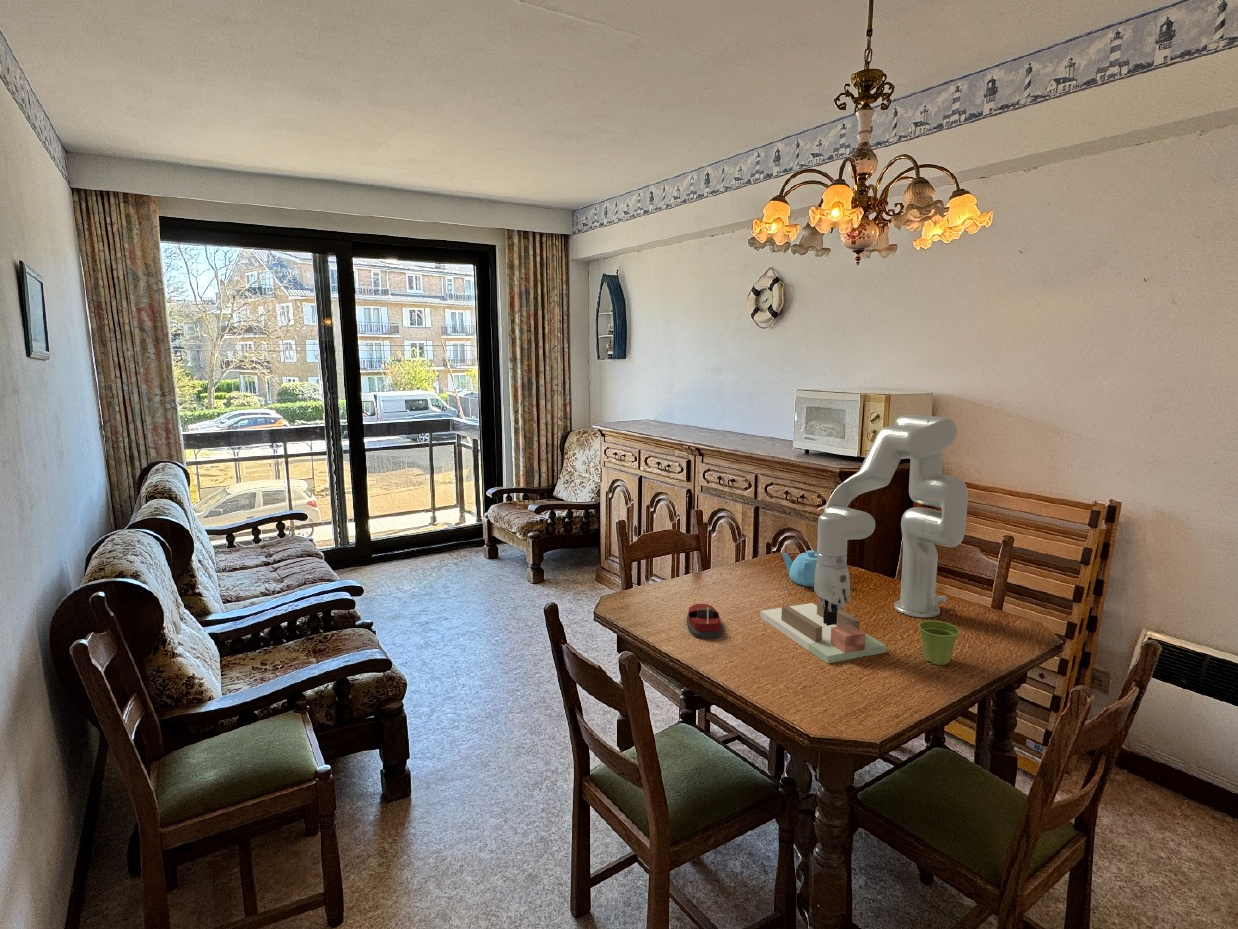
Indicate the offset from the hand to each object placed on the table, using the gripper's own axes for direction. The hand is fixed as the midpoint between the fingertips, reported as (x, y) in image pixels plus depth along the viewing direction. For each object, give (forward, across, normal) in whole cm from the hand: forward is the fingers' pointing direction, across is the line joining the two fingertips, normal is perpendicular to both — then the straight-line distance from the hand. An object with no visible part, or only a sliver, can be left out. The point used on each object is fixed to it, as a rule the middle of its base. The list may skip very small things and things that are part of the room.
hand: (830, 623), depth 180 cm
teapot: (+6, +42, -23) cm, 48 cm away
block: (+2, -9, +2) cm, 10 cm away
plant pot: (+5, -20, -17) cm, 27 cm away
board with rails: (+4, +4, +1) cm, 6 cm away
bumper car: (+4, +19, +29) cm, 35 cm away
